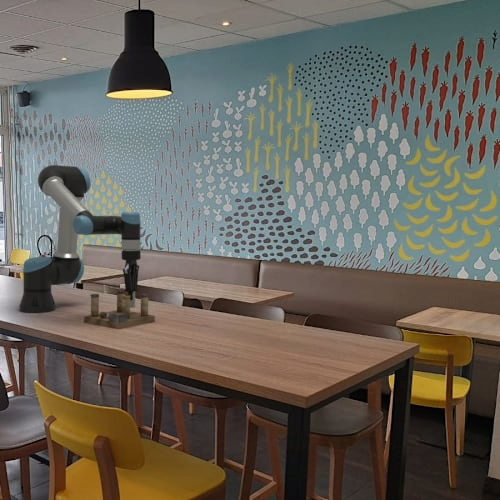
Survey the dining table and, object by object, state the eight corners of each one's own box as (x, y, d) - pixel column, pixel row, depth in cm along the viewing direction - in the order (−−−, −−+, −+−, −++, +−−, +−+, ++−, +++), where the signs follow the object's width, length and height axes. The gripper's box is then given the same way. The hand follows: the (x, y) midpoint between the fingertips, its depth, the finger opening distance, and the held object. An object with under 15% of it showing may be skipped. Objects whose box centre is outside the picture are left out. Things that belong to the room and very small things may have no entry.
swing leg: (99, 317, 230) (99, 295, 229) (100, 316, 233) (101, 294, 232) (129, 318, 231) (129, 296, 230) (130, 316, 234) (130, 294, 233)
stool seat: (83, 322, 234) (84, 294, 233) (120, 315, 250) (121, 289, 249) (118, 329, 223) (118, 300, 222) (154, 321, 239) (155, 294, 238)
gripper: (127, 248, 241) (128, 304, 243) (116, 251, 228) (116, 310, 230) (145, 248, 240) (145, 304, 242) (134, 251, 227) (135, 310, 229)
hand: (131, 307), depth 236 cm, fingers closed
